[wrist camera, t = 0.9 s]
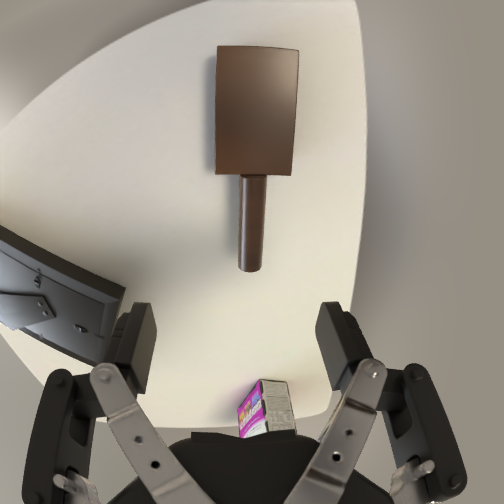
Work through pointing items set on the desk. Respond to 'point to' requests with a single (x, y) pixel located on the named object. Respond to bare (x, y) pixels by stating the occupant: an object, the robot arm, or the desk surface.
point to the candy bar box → (266, 409)
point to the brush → (254, 131)
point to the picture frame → (56, 300)
